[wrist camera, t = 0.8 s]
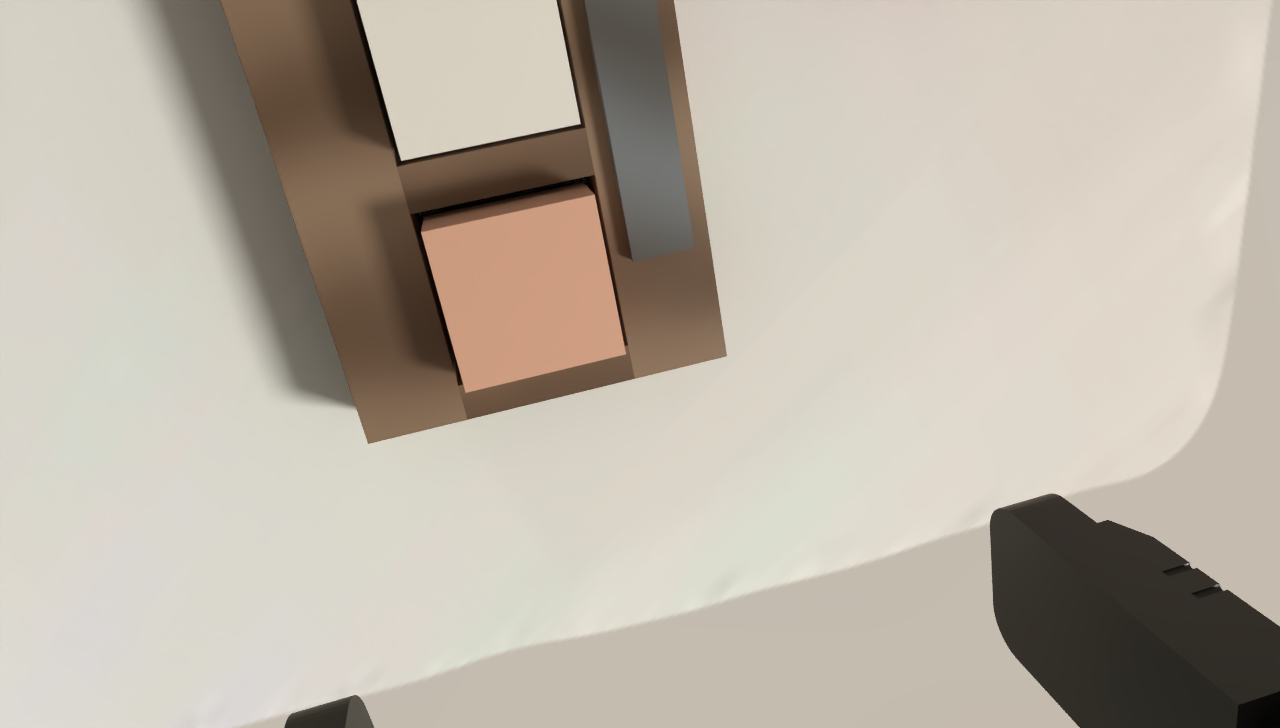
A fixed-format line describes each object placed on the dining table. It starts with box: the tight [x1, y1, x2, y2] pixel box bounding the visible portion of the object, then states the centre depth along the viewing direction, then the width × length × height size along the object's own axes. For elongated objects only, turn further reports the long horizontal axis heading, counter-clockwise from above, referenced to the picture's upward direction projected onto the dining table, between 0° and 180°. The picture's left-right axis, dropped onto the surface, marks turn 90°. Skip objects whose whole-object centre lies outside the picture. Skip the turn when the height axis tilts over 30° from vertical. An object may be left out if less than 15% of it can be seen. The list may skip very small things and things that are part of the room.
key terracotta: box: [421, 182, 626, 393], centre depth 27 cm, size 5×5×2 cm
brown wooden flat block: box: [221, 0, 727, 444], centre depth 25 cm, size 22×12×3 cm, turn 10°
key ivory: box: [357, 0, 581, 161], centre depth 24 cm, size 5×5×2 cm
